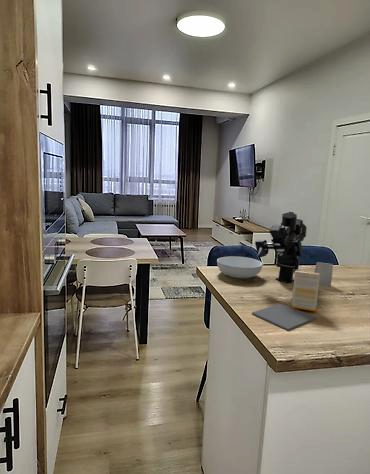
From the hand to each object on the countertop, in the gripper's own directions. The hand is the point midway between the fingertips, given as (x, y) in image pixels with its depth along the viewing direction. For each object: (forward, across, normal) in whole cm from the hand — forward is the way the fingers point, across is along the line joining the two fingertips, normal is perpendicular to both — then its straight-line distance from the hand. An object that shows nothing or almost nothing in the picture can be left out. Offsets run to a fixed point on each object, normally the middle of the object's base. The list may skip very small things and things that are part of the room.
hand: (269, 257), depth 127 cm
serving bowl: (-10, -24, +16) cm, 30 cm away
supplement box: (+8, +14, +16) cm, 22 cm away
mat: (+19, +12, +12) cm, 25 cm away
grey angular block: (-26, +7, +27) cm, 38 cm away
